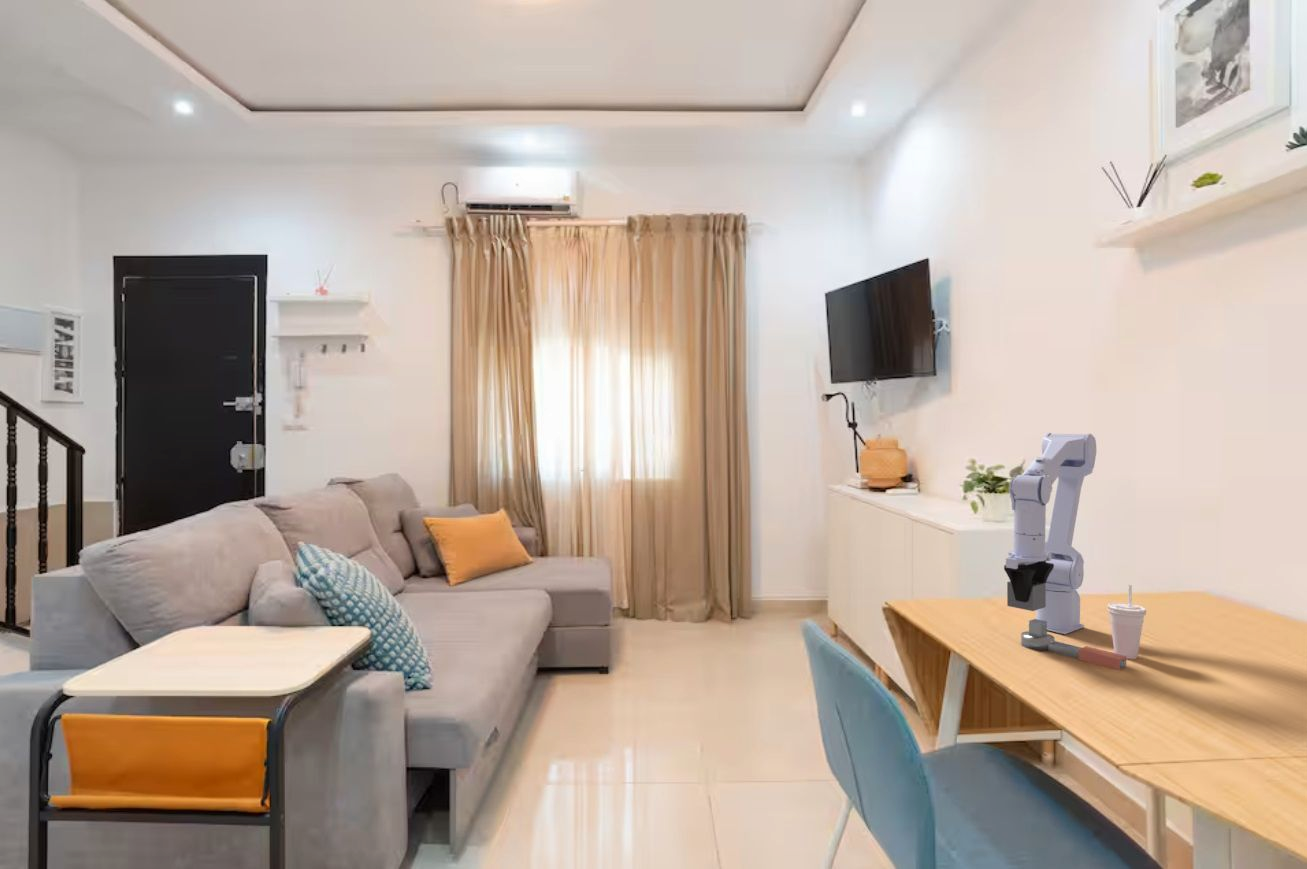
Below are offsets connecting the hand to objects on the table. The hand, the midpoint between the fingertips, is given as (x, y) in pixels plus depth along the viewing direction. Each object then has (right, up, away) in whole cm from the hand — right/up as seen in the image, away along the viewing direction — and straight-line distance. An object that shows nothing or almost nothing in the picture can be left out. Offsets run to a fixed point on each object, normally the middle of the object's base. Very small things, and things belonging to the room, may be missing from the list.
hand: (1028, 599), depth 146 cm
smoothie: (+15, -10, -7) cm, 19 cm away
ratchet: (+5, -10, -6) cm, 12 cm away
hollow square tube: (0, -2, 0) cm, 2 cm away
